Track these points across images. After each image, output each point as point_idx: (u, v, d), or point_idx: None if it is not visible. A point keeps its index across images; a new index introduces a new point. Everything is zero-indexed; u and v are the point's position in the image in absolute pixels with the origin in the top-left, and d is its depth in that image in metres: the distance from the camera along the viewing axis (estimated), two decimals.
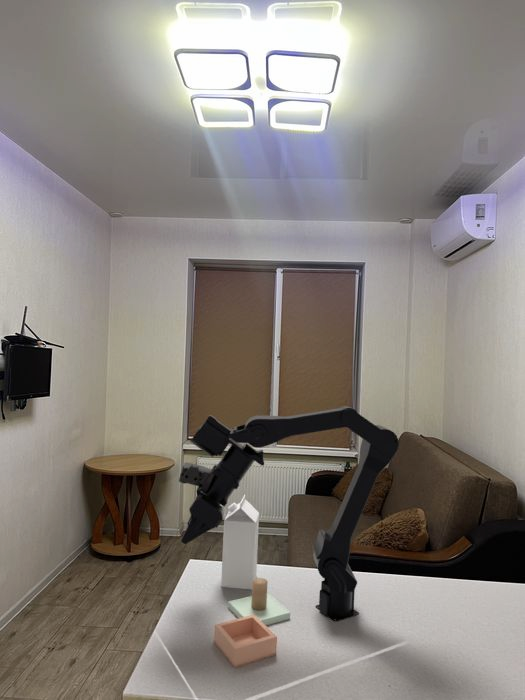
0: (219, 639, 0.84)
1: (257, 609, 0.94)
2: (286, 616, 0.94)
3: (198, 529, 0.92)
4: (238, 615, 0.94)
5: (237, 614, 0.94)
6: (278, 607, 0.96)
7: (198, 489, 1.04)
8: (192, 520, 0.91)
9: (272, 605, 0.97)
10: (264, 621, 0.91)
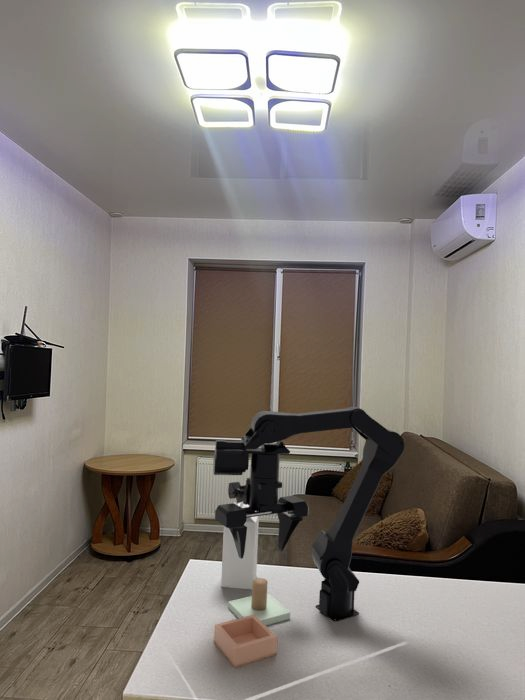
0: (219, 639, 0.84)
1: (257, 609, 0.94)
2: (286, 616, 0.94)
3: (237, 538, 0.92)
4: (238, 615, 0.94)
5: (237, 614, 0.94)
6: (278, 607, 0.96)
7: None
8: (231, 531, 0.94)
9: (272, 605, 0.97)
10: (264, 621, 0.91)
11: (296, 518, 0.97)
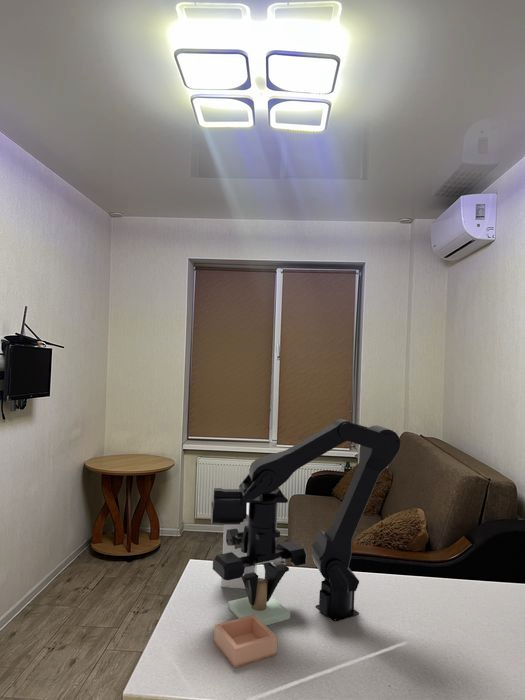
0: (219, 639, 0.84)
1: (257, 609, 0.94)
2: (286, 616, 0.94)
3: (249, 586, 0.94)
4: (238, 615, 0.94)
5: (237, 614, 0.94)
6: (278, 607, 0.96)
7: None
8: (242, 578, 0.95)
9: (272, 605, 0.97)
10: (264, 621, 0.91)
11: (282, 569, 0.96)
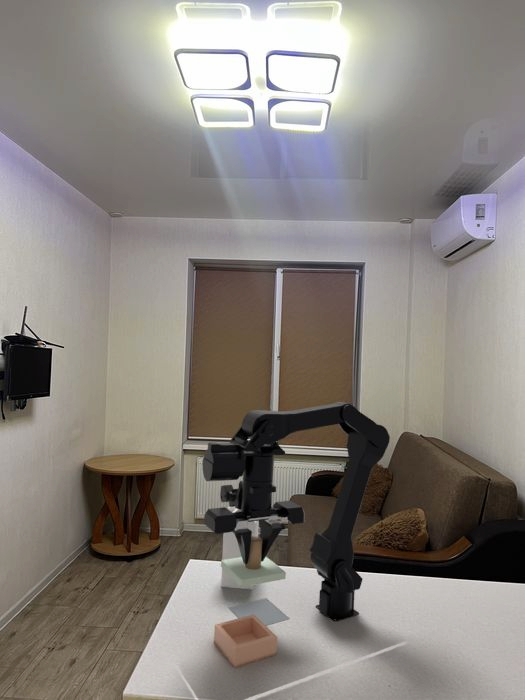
0: (219, 639, 0.84)
1: (251, 568, 0.89)
2: (281, 576, 0.88)
3: (242, 543, 0.89)
4: (230, 573, 0.89)
5: (229, 572, 0.89)
6: (273, 567, 0.90)
7: None
8: (235, 534, 0.90)
9: (267, 565, 0.91)
10: (257, 579, 0.86)
11: (278, 526, 0.90)
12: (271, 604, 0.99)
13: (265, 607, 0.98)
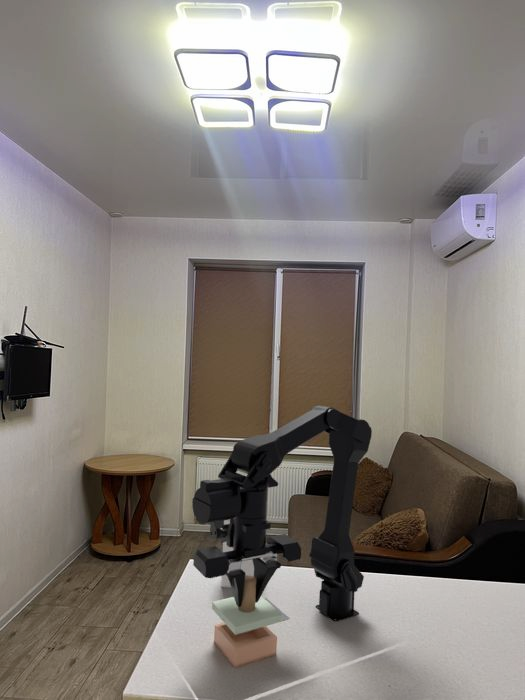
0: (219, 639, 0.84)
1: (244, 611, 0.83)
2: (277, 619, 0.82)
3: (235, 585, 0.82)
4: (223, 618, 0.82)
5: (221, 616, 0.82)
6: (269, 608, 0.84)
7: None
8: None
9: (262, 606, 0.85)
10: (252, 624, 0.80)
11: (273, 565, 0.84)
12: (271, 604, 0.99)
13: None
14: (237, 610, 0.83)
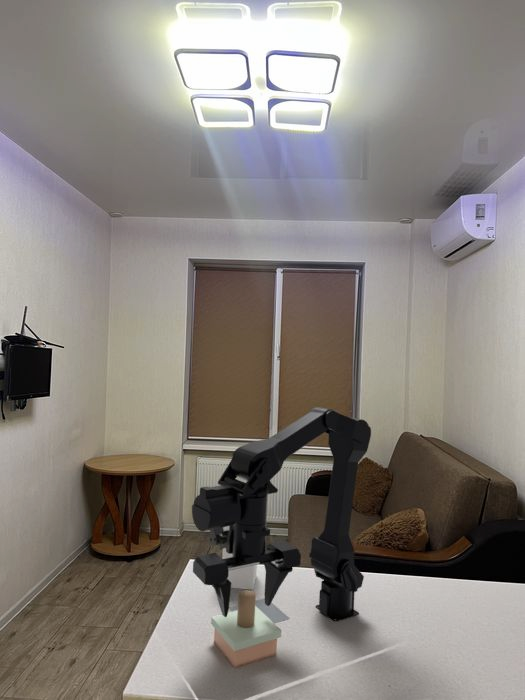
0: (219, 639, 0.84)
1: (243, 626, 0.83)
2: (276, 634, 0.82)
3: (220, 594, 0.81)
4: (222, 633, 0.82)
5: (221, 632, 0.82)
6: (268, 624, 0.84)
7: None
8: None
9: (261, 621, 0.85)
10: (251, 641, 0.80)
11: (284, 569, 0.85)
12: (271, 604, 0.99)
13: (265, 607, 0.98)
14: (236, 625, 0.83)
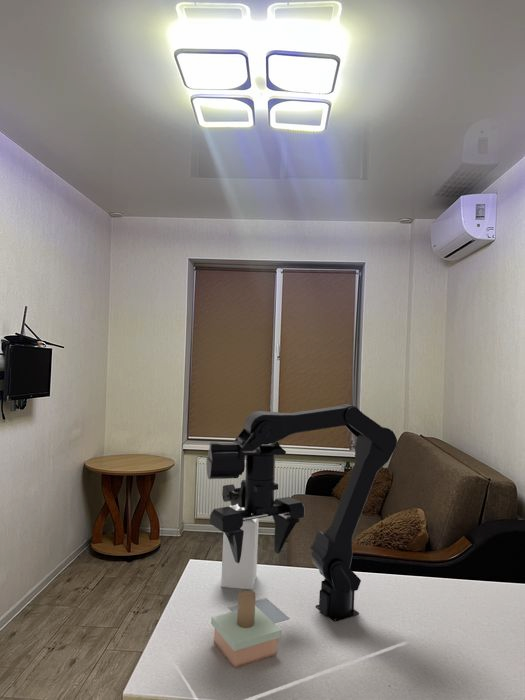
0: (219, 639, 0.84)
1: (243, 626, 0.83)
2: (276, 634, 0.82)
3: (234, 543, 0.90)
4: (222, 633, 0.82)
5: (221, 632, 0.82)
6: (268, 624, 0.84)
7: None
8: (226, 535, 0.92)
9: (261, 621, 0.85)
10: (251, 641, 0.80)
11: (292, 520, 0.95)
12: (271, 604, 0.99)
13: (265, 607, 0.98)
14: (236, 625, 0.83)
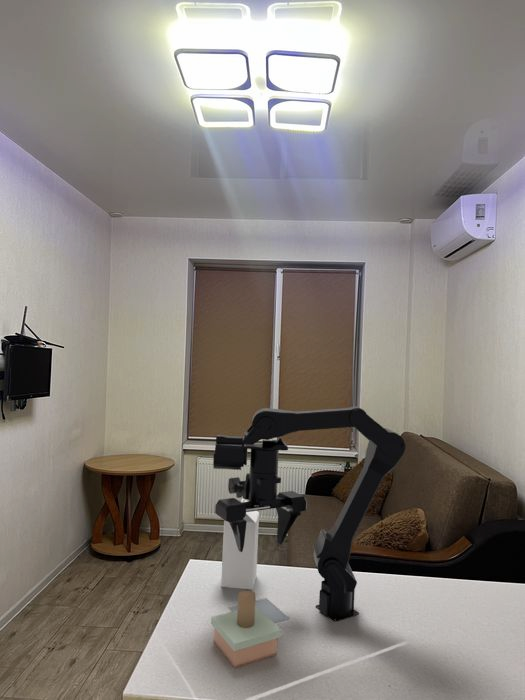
0: (219, 639, 0.84)
1: (243, 626, 0.83)
2: (276, 634, 0.82)
3: (237, 532, 0.95)
4: (222, 633, 0.82)
5: (221, 632, 0.82)
6: (268, 624, 0.84)
7: None
8: (231, 525, 0.96)
9: (261, 621, 0.85)
10: (251, 641, 0.80)
11: (294, 513, 1.00)
12: (271, 604, 0.99)
13: (265, 607, 0.98)
14: (236, 625, 0.83)
